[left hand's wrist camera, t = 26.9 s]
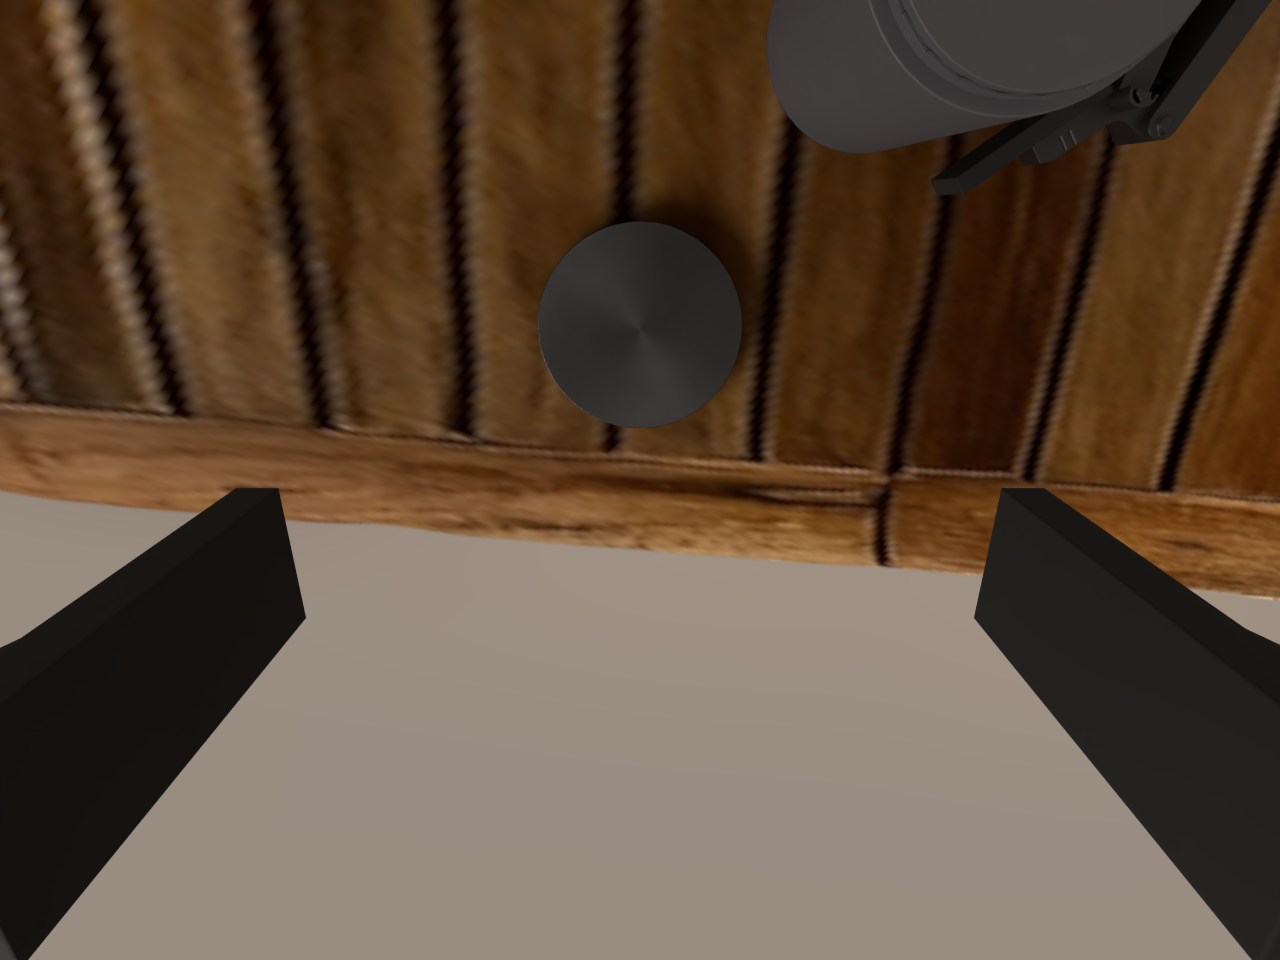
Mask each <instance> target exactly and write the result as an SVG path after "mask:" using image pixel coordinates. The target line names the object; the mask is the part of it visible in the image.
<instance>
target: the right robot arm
mask: <svg viewBox="0 0 1280 960" xmlns="http://www.w3.org/2000/svg"><path fill="white" fill-rule="evenodd" d="M1270 2H1271V0H1202V1H1201V2H1200V3H1199V5H1198V6H1197V7H1196V8H1195V10H1194V11H1193V12H1192V13H1191V15H1190V16H1189V18H1188V19H1187V20H1186V22H1185V23H1184V25H1183V26H1182V28H1181V29H1180V30H1179V32H1178V33H1177V32H1175V33H1173V34H1172V35H1171V36H1170V37H1169V38H1167V39H1166V40H1165V41H1164V42H1163V43H1161V44H1160V45H1159V46H1158V47H1157V48H1156V49H1154V50H1153V51H1152V52H1151V53H1150V54H1148V55H1147V56H1146V57H1145V58H1144V59H1143V60H1141V61H1140V62H1139V63H1138V64H1137V65H1135V66H1134V67H1133V68H1132V69H1130V70H1129V71H1128V72H1126V73H1125V74H1124V75H1122V76H1121V77H1120V78H1118V79H1117V80H1116V81H1114V82H1113V83H1112V84H1110V85H1109V86H1107V87H1105V88H1104V89H1102V90H1100V91H1099V92H1097V93H1095V94H1093V95H1092V96H1090V97H1088V98H1086V99H1084V100H1082V101H1079V102H1077V103H1075V104H1072V105H1070V106H1068V107H1066V108H1062V109H1059V110H1056V111H1052V112H1049V113H1045V114H1042V115H1037V116H1033V117H1029V118H1024V119H1020V120H1016V121H1014V122H1013V123H1012V124H1010V125H1009V126H1007V127H1006V128H1004V129H1003V130H1002V131H1000V132H999V133H997V134H996V135H994V136H993V137H992V138H990V139H989V140H987V141H986V142H984V143H983V144H982V145H980V146H979V147H977V148H976V149H974V150H973V151H972V152H970V153H969V154H967V155H966V156H964V157H963V158H962V159H960V160H959V161H957V162H956V163H954V164H953V165H952V166H950V167H949V168H947V169H946V170H944V171H943V172H942V173H940V174H939V175H937V176H936V177H934V178H933V179H932V180H930V181H931V183H932V185H933V187H934V189H935V191H936V193H937V195H951V194H965V193H966V192H968V191H969V190H970V189H972V188H973V187H975V186H976V185H978V184H979V183H981V182H982V181H984V180H985V179H986V178H988V177H989V176H991V175H992V174H994V173H995V172H997V171H998V170H1000V169H1001V168H1002V167H1004V166H1005V165H1007V164H1008V163H1010V162H1011V161H1013V160H1014V159H1016V158H1017V157H1019V158H1020V160H1021V163H1022V165H1023V166H1026V165H1035V164H1042V163H1046V162H1050V161H1053V160H1055V159H1056V158H1058V157H1059V156H1061V155H1062V154H1064V153H1065V152H1066V151H1068V150H1070V149H1071V148H1073V147H1074V146H1075V145H1077V144H1079V143H1080V142H1082V141H1083V140H1085V139H1086V138H1087V137H1089V136H1090V135H1092V134H1093V133H1095V132H1096V131H1098V130H1099V129H1101V128H1102V127H1104V126H1105V127H1106V128H1108V129H1109V130H1110V131H1111V138H1112V140H1113V141H1114V143H1115V144H1118V145H1126V144H1135V143H1142V142H1150V141H1157V140H1164V139H1166V138H1168V137H1170V136H1171V135H1172V134H1173V133H1174V132H1175V131H1176V129H1177V128H1178V127H1179V125H1180V124H1181V123H1182V121H1183V120H1184V119H1185V117H1186V116H1187V115H1188V113H1189V112H1190V110H1191V109H1192V108H1193V106H1194V105H1195V104H1196V102H1197V101H1198V100H1199V98H1200V97H1201V95H1202V94H1203V93H1204V91H1205V90H1206V89H1207V87H1208V86H1209V85H1210V83H1211V82H1212V81H1213V79H1214V78H1215V76H1216V75H1217V74H1218V72H1219V71H1220V70H1221V68H1222V67H1223V66H1224V64H1225V63H1226V62H1227V60H1228V59H1229V57H1230V56H1231V55H1232V53H1233V52H1234V51H1235V49H1236V48H1237V47H1238V45H1239V44H1240V42H1241V41H1242V40H1243V38H1244V37H1245V36H1246V34H1247V33H1248V32H1249V30H1250V29H1251V28H1252V26H1253V25H1254V23H1255V22H1256V21H1257V19H1258V18H1259V17H1260V15H1261V14H1262V13H1263V11H1264V10H1265V9H1266V7H1267V6H1268V4H1269V3H1270ZM1176 33H1177V35H1176ZM1175 35H1176V36H1175Z"/></svg>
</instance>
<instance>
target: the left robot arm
mask: <svg viewBox="0 0 1280 960" xmlns="http://www.w3.org/2000/svg"><path fill="white" fill-rule="evenodd" d="M305 618H306V616H305V611H304V606H303V602H302V597H301V592H300V587H299V583H298V578H297V574H296V569H295V564H294V559H293V555H292V550H291V545H290V541H289V536H288V532H287V527H286V522H285V517H284V513H283V508H282V503H281V499H280V494H279V489H278V488H236V489H234V490H233V491H231V492H230V493H229V494H227V495H226V496H224V497H223V498H221V499H220V500H219V501H217V502H216V503H214V504H213V505H211V506H210V507H208V508H207V509H206V510H204V511H203V512H201V513H200V514H198V515H197V516H196V517H194V518H193V519H191V520H190V521H188V522H187V523H186V524H184V525H183V526H181V527H180V528H178V529H177V530H175V531H174V532H173V533H171V534H170V535H168V536H167V537H165V538H164V539H163V540H161V541H160V542H158V543H157V544H155V545H154V546H152V547H151V548H150V549H148V550H147V551H145V552H144V553H142V554H141V555H140V556H138V557H137V558H135V559H134V560H132V561H131V562H130V563H128V564H127V565H125V566H124V567H122V568H121V569H119V570H118V571H117V572H115V573H114V574H112V575H111V576H109V577H108V578H107V579H105V580H104V581H102V582H101V583H99V584H98V585H97V586H95V587H94V588H92V589H91V590H89V591H88V592H86V593H85V594H84V595H82V596H81V597H79V598H78V599H76V600H75V601H73V602H72V603H71V604H69V605H68V606H66V607H65V608H63V609H62V610H61V611H59V612H58V613H56V614H55V615H53V616H52V617H51V618H49V619H48V620H46V621H45V622H43V623H42V624H40V625H39V626H38V627H36V628H35V629H33V630H32V631H30V632H29V633H28V634H26V635H25V636H23V637H22V638H20V639H18V640H16V641H14V642H12V643H9V644H7V645H5V646H3V647H1V648H0V960H28V959H29V958H30V957H31V956H32V954H33V953H34V952H35V951H36V949H37V948H38V947H39V946H40V945H41V943H42V942H43V941H44V940H45V938H46V937H47V936H48V935H49V933H50V932H51V931H52V930H53V928H54V927H55V926H56V925H57V924H58V922H59V921H60V920H61V919H62V917H63V916H64V915H65V914H66V913H67V911H68V910H69V909H70V908H71V906H72V905H73V904H74V903H75V901H76V900H77V899H78V898H79V897H80V895H81V894H82V893H83V892H84V890H85V889H86V888H87V887H88V885H89V884H90V883H91V882H92V881H93V879H94V878H95V877H96V876H97V874H98V873H99V872H100V871H101V869H102V868H103V867H104V866H105V864H106V863H107V862H108V861H109V860H110V858H111V857H112V856H113V855H114V853H115V852H116V851H117V850H118V849H119V847H120V846H121V845H122V844H123V842H124V841H125V840H126V839H127V837H128V836H129V835H130V834H131V833H132V831H133V830H134V829H135V828H136V826H137V825H138V824H139V823H140V821H141V820H142V819H143V818H144V817H145V815H146V814H147V813H148V812H149V810H150V809H151V808H152V807H153V805H154V804H155V803H156V802H157V801H158V799H159V798H160V797H161V796H162V794H163V793H164V792H165V791H166V790H167V788H168V787H169V786H170V785H171V783H172V782H173V781H174V780H175V778H176V777H177V776H178V775H179V774H180V772H181V771H182V770H183V769H184V767H185V766H186V765H187V764H188V762H189V761H190V760H191V759H192V758H193V756H194V755H195V754H196V753H197V751H198V750H199V749H200V748H201V746H202V745H203V744H204V743H205V742H206V740H207V739H208V738H209V737H210V735H211V734H212V733H213V732H214V730H215V729H216V728H217V727H218V726H219V724H220V723H221V722H222V721H223V719H224V718H225V717H226V716H227V714H228V713H229V712H230V711H231V710H232V708H233V707H234V706H235V705H236V703H237V702H238V701H239V700H240V698H241V697H242V696H243V695H244V694H245V692H246V691H247V690H248V689H249V687H250V686H251V685H252V684H253V682H254V681H255V680H256V679H257V678H258V676H259V675H260V674H261V673H262V671H263V670H264V669H265V668H266V666H267V665H268V664H269V663H270V662H271V660H272V659H273V658H274V657H275V655H276V654H277V653H278V652H279V650H280V649H281V648H282V647H283V646H284V644H285V643H286V642H287V641H288V639H289V638H290V637H291V636H292V634H293V633H294V632H295V631H296V630H297V628H298V627H299V626H300V625H301V623H302V622H303V621H304V620H305ZM974 618H975V620H976V621H977V622H978V623H979V625H980V626H981V627H982V628H983V630H984V631H985V632H986V633H987V634H988V636H989V637H990V638H991V639H992V641H993V642H994V643H995V644H996V646H997V647H998V648H999V649H1000V650H1001V652H1002V653H1003V654H1004V655H1005V657H1006V658H1007V659H1008V660H1009V662H1010V663H1011V664H1012V665H1013V666H1014V668H1015V669H1016V670H1017V671H1018V673H1019V674H1020V675H1021V676H1022V678H1023V679H1024V680H1025V681H1026V682H1027V684H1028V685H1029V686H1030V687H1031V689H1032V690H1033V691H1034V692H1035V694H1036V695H1037V696H1038V697H1039V698H1040V700H1041V701H1042V702H1043V703H1044V705H1045V706H1046V707H1047V708H1048V709H1049V711H1050V712H1051V713H1052V714H1053V716H1054V717H1055V718H1056V719H1057V721H1058V722H1059V723H1060V724H1061V726H1062V727H1063V728H1064V729H1065V730H1066V732H1067V733H1068V734H1069V735H1070V737H1071V738H1072V739H1073V740H1074V741H1075V743H1076V744H1077V745H1078V746H1079V748H1080V749H1081V750H1082V751H1083V753H1084V754H1085V755H1086V756H1087V757H1088V759H1089V760H1090V761H1091V762H1092V764H1093V765H1094V766H1095V767H1096V769H1097V770H1098V771H1099V772H1100V773H1101V775H1102V776H1103V777H1104V778H1105V780H1106V781H1107V782H1108V783H1109V785H1110V786H1111V787H1112V788H1113V790H1114V791H1115V792H1116V793H1117V794H1118V796H1119V797H1120V798H1121V799H1122V801H1123V802H1124V803H1125V804H1126V806H1127V807H1128V808H1129V809H1130V810H1131V812H1132V813H1133V814H1134V815H1135V817H1136V818H1137V819H1138V820H1139V821H1140V823H1141V824H1142V825H1143V826H1144V828H1145V829H1146V830H1147V831H1148V833H1149V834H1150V835H1151V836H1152V837H1153V839H1154V840H1155V841H1156V842H1157V844H1158V845H1159V846H1160V847H1161V849H1162V850H1163V851H1164V852H1165V853H1166V855H1167V856H1168V857H1169V858H1170V860H1171V861H1172V862H1173V863H1174V865H1175V866H1176V867H1177V868H1178V869H1179V871H1180V872H1181V873H1182V874H1183V876H1184V877H1185V878H1186V879H1187V881H1188V882H1189V883H1190V884H1191V885H1192V887H1193V888H1194V889H1195V890H1196V892H1197V893H1198V894H1199V895H1200V896H1201V898H1202V899H1203V900H1204V901H1205V903H1206V904H1207V905H1208V906H1209V908H1210V909H1211V910H1212V911H1213V912H1214V914H1215V915H1216V916H1217V917H1218V919H1219V920H1220V921H1221V922H1222V924H1223V925H1224V926H1225V927H1226V929H1227V930H1228V931H1229V932H1230V933H1231V935H1232V936H1233V937H1234V938H1235V940H1236V941H1237V942H1238V943H1239V945H1240V946H1241V947H1242V948H1243V949H1244V951H1245V952H1246V953H1247V954H1248V956H1249V957H1250V958H1251V959H1252V960H1280V645H1279V644H1277V643H1275V642H1273V641H1271V640H1268V639H1266V638H1264V637H1262V636H1260V635H1258V634H1256V633H1253V632H1251V631H1249V630H1247V629H1245V628H1244V627H1242V626H1241V625H1240V624H1238V623H1237V622H1235V621H1234V620H1232V619H1231V618H1229V617H1228V616H1227V615H1225V614H1224V613H1222V612H1221V611H1219V610H1218V609H1217V608H1215V607H1214V606H1212V605H1211V604H1209V603H1208V602H1206V601H1205V600H1204V599H1202V598H1201V597H1199V596H1198V595H1196V594H1195V593H1194V592H1192V591H1191V590H1189V589H1188V588H1186V587H1185V586H1184V585H1182V584H1181V583H1179V582H1178V581H1176V580H1175V579H1173V578H1172V577H1171V576H1169V575H1168V574H1166V573H1165V572H1163V571H1162V570H1161V569H1159V568H1158V567H1156V566H1155V565H1153V564H1152V563H1151V562H1149V561H1148V560H1146V559H1145V558H1143V557H1142V556H1140V555H1139V554H1138V553H1136V552H1135V551H1133V550H1132V549H1130V548H1129V547H1128V546H1126V545H1125V544H1123V543H1122V542H1120V541H1119V540H1117V539H1116V538H1115V537H1113V536H1112V535H1110V534H1109V533H1107V532H1106V531H1105V530H1103V529H1102V528H1100V527H1099V526H1097V525H1096V524H1095V523H1093V522H1092V521H1090V520H1089V519H1087V518H1086V517H1084V516H1083V515H1082V514H1080V513H1079V512H1077V511H1076V510H1074V509H1073V508H1072V507H1070V506H1069V505H1067V504H1066V503H1064V502H1063V501H1061V500H1060V499H1059V498H1057V497H1056V496H1054V495H1053V494H1051V493H1050V492H1049V491H1047V490H1046V489H1044V488H1002V489H1001V494H1000V499H999V503H998V508H997V513H996V517H995V522H994V527H993V531H992V536H991V541H990V545H989V550H988V555H987V559H986V564H985V569H984V573H983V578H982V583H981V587H980V592H979V597H978V602H977V606H976V611H975V616H974Z"/></svg>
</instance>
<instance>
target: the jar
mask: <svg viewBox="0 0 1280 960" xmlns="http://www.w3.org/2000/svg"><path fill="white" fill-rule="evenodd" d="M1201 1H1202V0H774V1H773V4H772V8H771V12H770V17H769V23H768V29H767V60H768V66H769V72H770V77H771V80H772V84H773V87H774V90H775V93H776V95H777V97H778V99H779V101H780V104H781V105H782V107H783V109H784V110H785V112H786V113H787V115H788V116H789V118H790V119H791V120H792V121H793V122H794V124H795V125H796V126H797V127H798V128H799V129H800V130H801V131H802V132H804V133H805V134H806V135H807V136H808V137H810V138H811V139H813V140H814V141H816V142H817V143H819V144H822V145H824V146H826V147H828V148H831V149H834V150H837V151H841V152H847V153H854V154H863V153H874V152H880V151H885V150H889V149H894V148H898V147H902V146H907V145H911V144H916V143H920V142H924V141H929V140H933V139H937V138H942V137H946V136H950V135H955V134H959V133H963V132H968V131H972V130H976V129H981V128H985V127H989V126H994V125H998V124H1003V123H1007V122H1011V121H1016V120H1020V119H1024V118H1029V117H1033V116H1037V115H1042V114H1045V113H1049V112H1052V111H1056V110H1059V109H1062V108H1066V107H1068V106H1070V105H1072V104H1075V103H1077V102H1079V101H1082V100H1084V99H1086V98H1088V97H1090V96H1092V95H1093V94H1095V93H1097V92H1099V91H1100V90H1102V89H1104V88H1105V87H1107V86H1109V85H1110V84H1112V83H1113V82H1114V81H1116V80H1117V79H1118V78H1120V77H1121V76H1122V75H1124V74H1125V73H1126V72H1128V71H1129V70H1130V69H1132V68H1133V67H1134V66H1135V65H1137V64H1138V63H1139V62H1140V61H1141V60H1143V59H1144V58H1145V57H1146V56H1147V55H1148V54H1150V53H1151V52H1152V51H1153V50H1154V49H1156V48H1157V47H1158V46H1159V45H1160V44H1161V43H1163V42H1164V41H1165V40H1166V39H1167V38H1169V37H1170V36H1171V35H1172V34H1173V33H1175V32H1177V31H1178V30H1179V29H1180V27H1181V26H1182V25H1183V24H1184V22H1185V21H1186V20H1187V18H1188V17H1189V16H1190V15H1191V13H1192V12H1193V11H1194V10H1195V8H1196V7H1197V6H1198V5H1199V3H1200V2H1201Z"/></svg>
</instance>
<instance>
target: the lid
mask: <svg viewBox="0 0 1280 960" xmlns="http://www.w3.org/2000/svg"><path fill="white" fill-rule="evenodd" d="M538 334H539V343H540V347H541V351H542V355H543V358H544V361H545V363H546V366H547V368H548V370H549V372H550V374H551V376H552V378H553V380H554V381H555V382H556V384H557V385H558V387H559V388H560V390H561V391H562V392H563V393H564V394H565V395H566V396H567V397H568V398H569V400H571V401H572V402H573V403H574V404H575V405H577V406H578V407H579V408H580V409H582V410H583V411H585V412H586V413H588V414H589V415H591V416H593V417H595V418H597V419H599V420H602V421H605V422H607V423H610V424H613V425H618V426H623V427H631V428H651V427H657V426H663V425H666V424H670V423H673V422H676V421H678V420H680V419H683V418H685V417H687V416H689V415H690V414H692V413H694V412H695V411H697V410H699V409H700V408H701V407H702V406H704V405H705V404H706V403H707V402H709V401H710V399H711V398H712V397H713V396H714V395H715V394H716V393H717V392H718V391H719V390H720V388H721V387H722V386H723V384H724V383H725V381H726V380H727V378H728V376H729V374H730V373H731V371H732V369H733V366H734V364H735V361H736V359H737V356H738V352H739V348H740V343H741V336H742V314H741V306H740V302H739V298H738V294H737V291H736V288H735V286H734V283H733V281H732V279H731V277H730V275H729V273H728V272H727V270H726V268H725V267H724V265H723V264H722V263H721V261H720V260H719V259H718V257H717V256H716V255H715V254H714V253H713V252H712V251H711V250H710V249H709V248H708V247H707V246H706V245H704V244H703V243H702V242H700V241H699V240H698V239H696V238H695V237H693V236H691V235H689V234H688V233H686V232H684V231H682V230H680V229H677V228H675V227H672V226H670V225H666V224H662V223H657V222H650V221H629V222H623V223H618V224H614V225H611V226H608V227H605V228H602V229H600V230H598V231H596V232H594V233H592V234H590V235H589V236H587V237H586V238H584V239H583V240H581V241H580V242H578V243H577V244H576V245H575V246H574V247H573V248H571V249H570V250H569V251H568V252H567V253H566V254H565V255H564V257H563V258H562V259H561V260H560V261H559V263H558V264H557V265H556V267H555V269H554V270H553V272H552V274H551V275H550V277H549V279H548V282H547V284H546V286H545V288H544V291H543V295H542V298H541V302H540V308H539V314H538Z"/></svg>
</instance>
